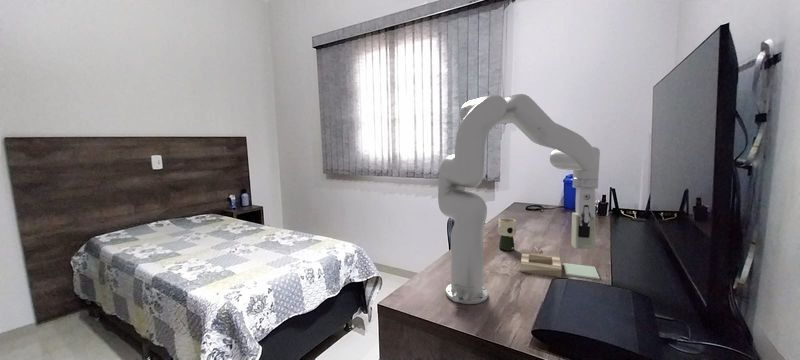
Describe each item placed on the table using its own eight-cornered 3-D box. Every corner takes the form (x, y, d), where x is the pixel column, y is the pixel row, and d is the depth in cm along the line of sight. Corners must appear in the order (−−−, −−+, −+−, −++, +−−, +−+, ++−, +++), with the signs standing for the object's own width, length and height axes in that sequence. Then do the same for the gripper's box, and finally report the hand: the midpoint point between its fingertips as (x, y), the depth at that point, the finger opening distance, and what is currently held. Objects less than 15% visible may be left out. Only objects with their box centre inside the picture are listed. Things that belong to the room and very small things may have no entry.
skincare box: (588, 245, 110) (590, 212, 109) (594, 249, 106) (596, 214, 105) (570, 245, 111) (571, 211, 110) (575, 249, 107) (576, 214, 106)
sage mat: (599, 279, 103) (599, 277, 103) (565, 275, 107) (565, 273, 107) (594, 268, 112) (594, 266, 112) (563, 264, 116) (563, 262, 116)
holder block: (561, 277, 106) (561, 268, 105) (520, 271, 111) (520, 263, 110) (558, 263, 117) (559, 255, 117) (521, 258, 123) (522, 251, 122)
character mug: (504, 254, 128) (505, 223, 126) (491, 249, 134) (491, 220, 132) (521, 249, 134) (522, 219, 132) (508, 244, 140) (509, 216, 138)
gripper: (603, 187, 97) (599, 243, 99) (593, 180, 112) (591, 229, 115) (575, 186, 100) (573, 241, 102) (570, 179, 115) (568, 227, 117)
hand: (582, 234), depth 108 cm, fingers closed on skincare box, 5 cm apart
